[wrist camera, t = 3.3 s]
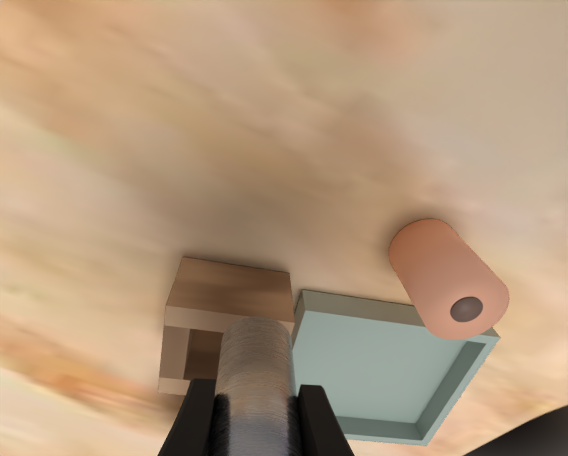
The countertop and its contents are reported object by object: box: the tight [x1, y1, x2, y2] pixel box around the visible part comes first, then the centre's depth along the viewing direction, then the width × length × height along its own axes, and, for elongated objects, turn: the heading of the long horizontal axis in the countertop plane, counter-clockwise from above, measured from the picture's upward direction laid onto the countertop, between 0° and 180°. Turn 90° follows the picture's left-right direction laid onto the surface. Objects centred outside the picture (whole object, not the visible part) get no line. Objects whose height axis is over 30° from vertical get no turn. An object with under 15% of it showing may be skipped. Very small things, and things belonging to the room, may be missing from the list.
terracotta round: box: [389, 219, 509, 340], centre depth 18 cm, size 4×4×5 cm
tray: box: [291, 290, 500, 446], centre depth 24 cm, size 12×11×2 cm
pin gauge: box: [207, 316, 303, 456], centre depth 9 cm, size 2×2×7 cm
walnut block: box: [158, 257, 295, 395], centre depth 20 cm, size 6×6×4 cm
